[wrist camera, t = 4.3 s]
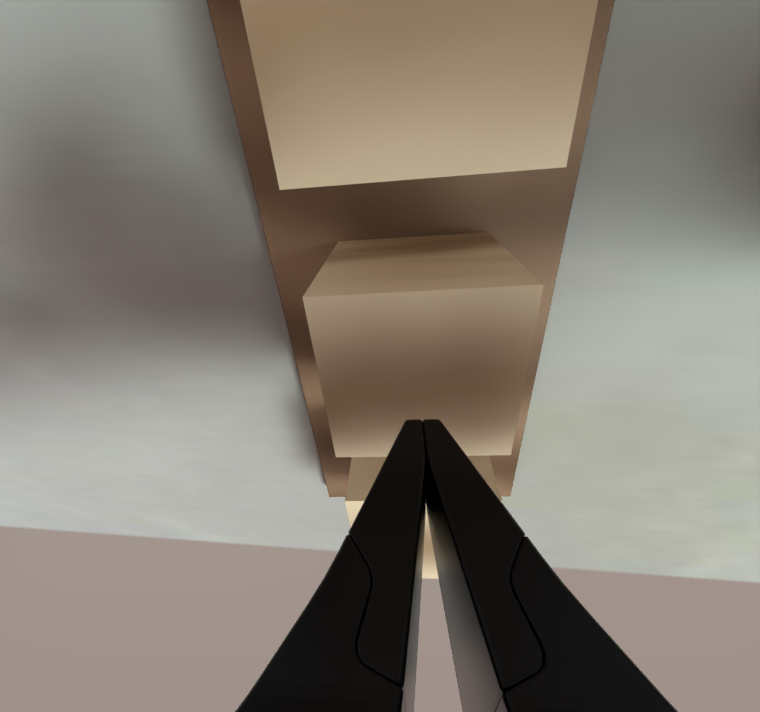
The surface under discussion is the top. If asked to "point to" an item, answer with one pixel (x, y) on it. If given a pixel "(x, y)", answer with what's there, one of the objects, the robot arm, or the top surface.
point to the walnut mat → (399, 221)
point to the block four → (364, 477)
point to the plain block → (422, 339)
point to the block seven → (417, 86)
